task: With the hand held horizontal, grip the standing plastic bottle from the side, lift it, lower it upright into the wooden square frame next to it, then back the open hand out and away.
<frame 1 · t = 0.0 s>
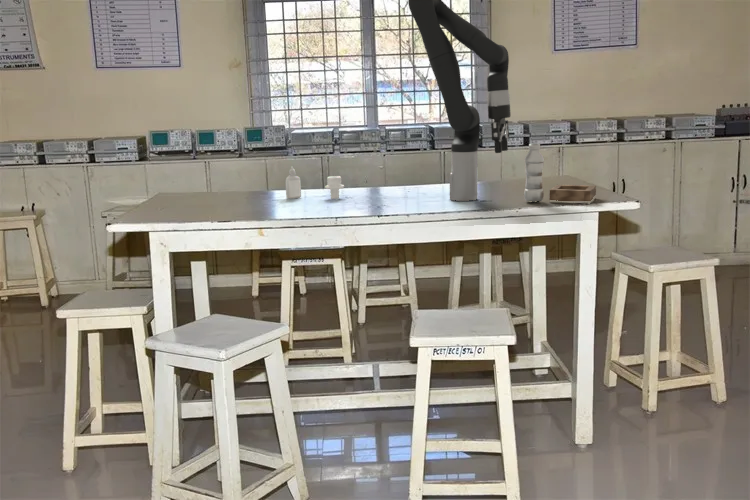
hand: (501, 151, 257), 17 cm above the table, tool pointing down, fingers open, 8 cm apart
pipe fitting: (335, 198, 278), on the table
plastic bottle: (533, 203, 255), on the table
eye dropper bottle: (293, 198, 282), on the table
wooden square frame: (572, 200, 257), on the table
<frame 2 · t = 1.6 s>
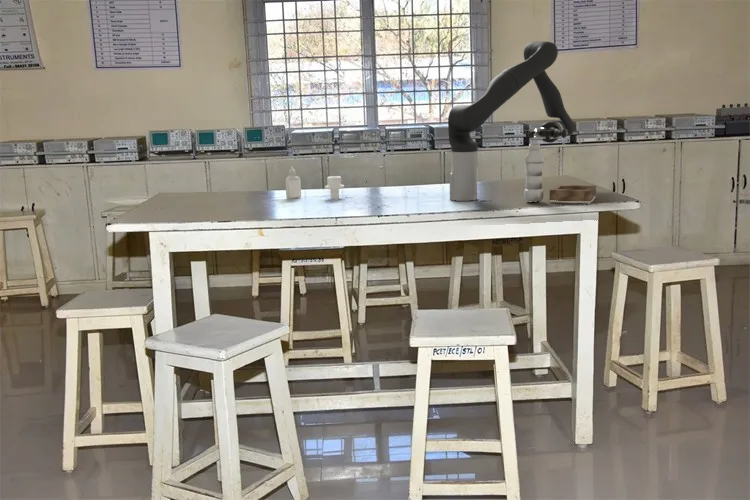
hand: (542, 135, 261), 22 cm above the table, tool horizontal, fingers open, 8 cm apart
nothing on the table moved.
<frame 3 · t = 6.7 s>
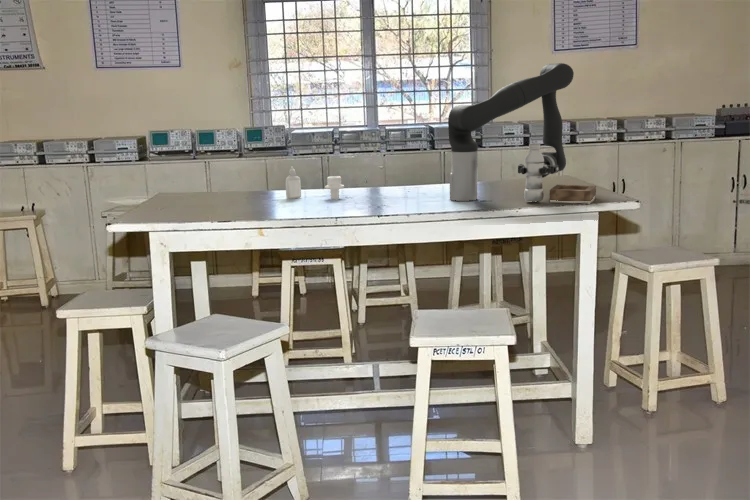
hand: (532, 171, 250), 11 cm above the table, tool horizontal, fingers closed on plastic bottle, 6 cm apart
plastic bottle: (533, 203, 255), on the table, touching gripper
everything else where it was.
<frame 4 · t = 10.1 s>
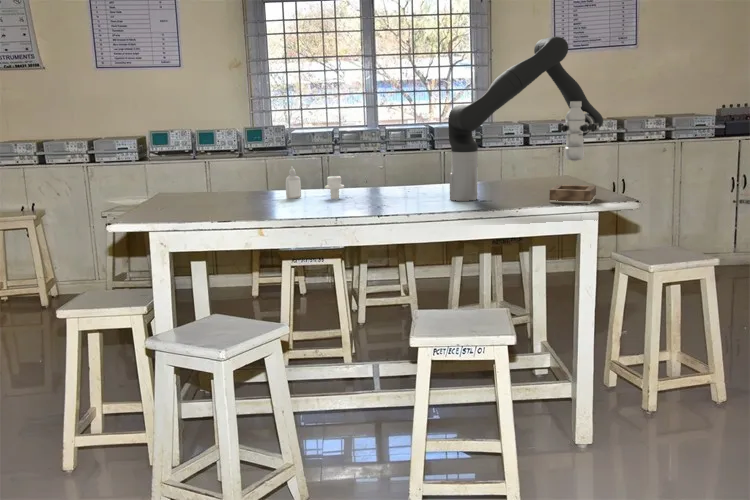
hand: (573, 128, 249), 25 cm above the table, tool horizontal, fingers closed on plastic bottle, 6 cm apart
plastic bottle: (574, 161, 254), point 14 cm above the table, touching gripper
everything else where it was.
when the fingers open (12 cm above the table, at t = 13.6 s): plastic bottle drops 1 cm, resting in wooden square frame.
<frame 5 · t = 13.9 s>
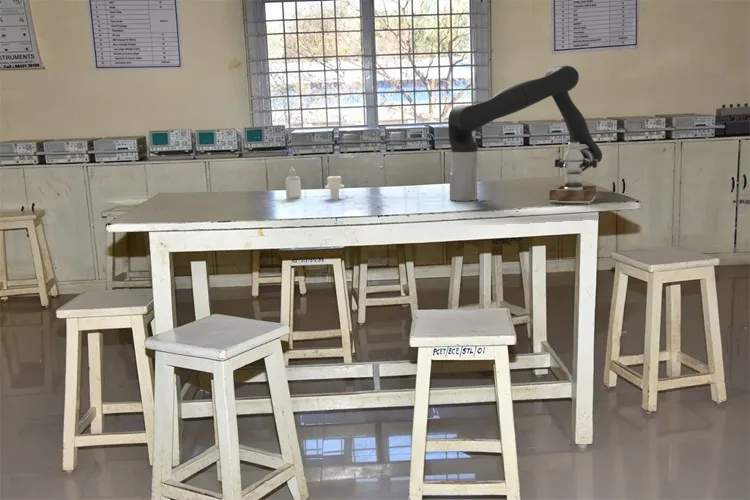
hand: (573, 165, 252), 12 cm above the table, tool horizontal, fingers open, 8 cm apart
plastic bottle: (573, 201, 257), resting in wooden square frame
everything else where it was.
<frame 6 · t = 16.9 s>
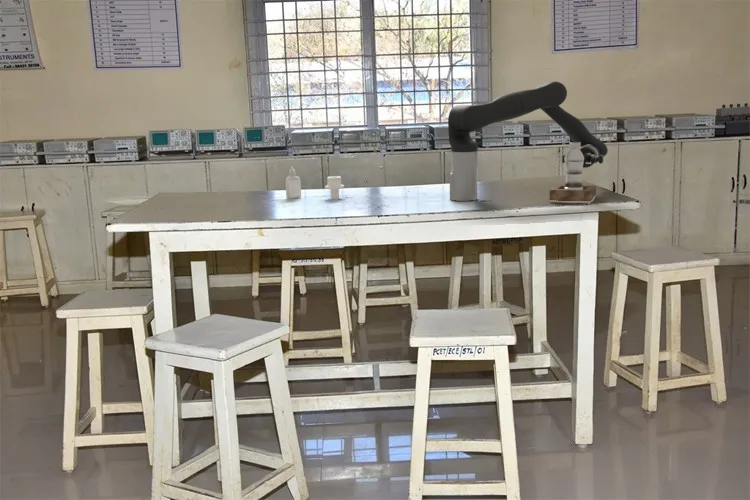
hand: (579, 160, 264), 13 cm above the table, tool horizontal, fingers open, 8 cm apart
nothing on the table moved.
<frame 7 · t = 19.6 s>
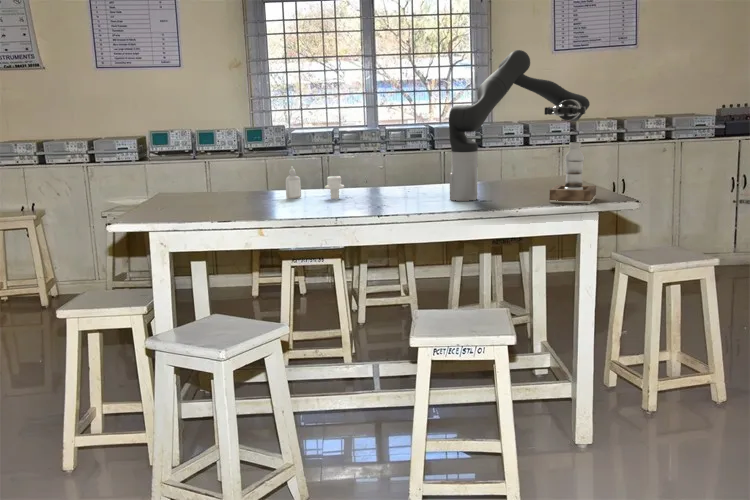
hand: (561, 111, 265), 30 cm above the table, tool horizontal, fingers open, 8 cm apart
nothing on the table moved.
at the end: plastic bottle 0.1 cm off-centre on the wooden square frame, point 0.0 cm above the wooden square frame's base; plastic bottle tilted 0°; the gripper is holding nothing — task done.
